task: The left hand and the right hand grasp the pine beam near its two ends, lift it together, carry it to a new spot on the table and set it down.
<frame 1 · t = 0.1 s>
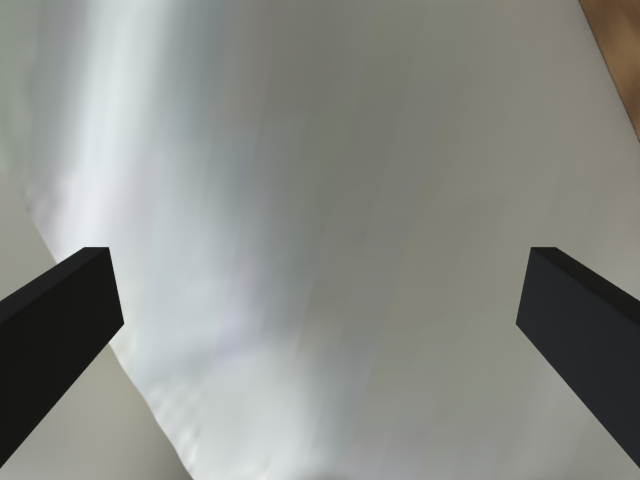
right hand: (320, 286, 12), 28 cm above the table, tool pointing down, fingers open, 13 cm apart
beam: (610, 5, 34), on the table
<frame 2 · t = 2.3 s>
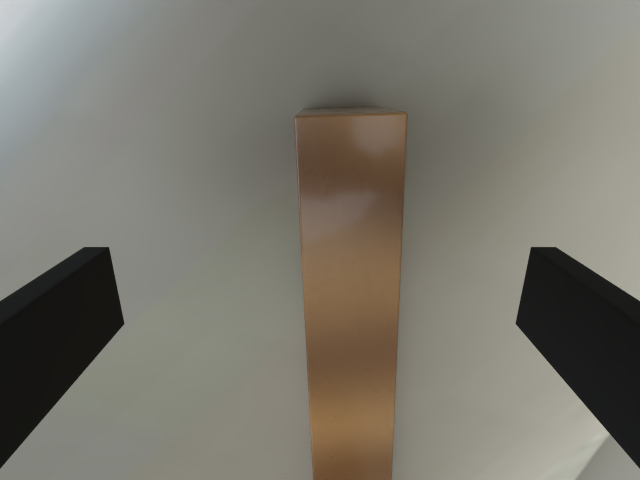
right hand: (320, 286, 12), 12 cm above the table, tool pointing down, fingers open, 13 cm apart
beam: (344, 462, 32), on the table
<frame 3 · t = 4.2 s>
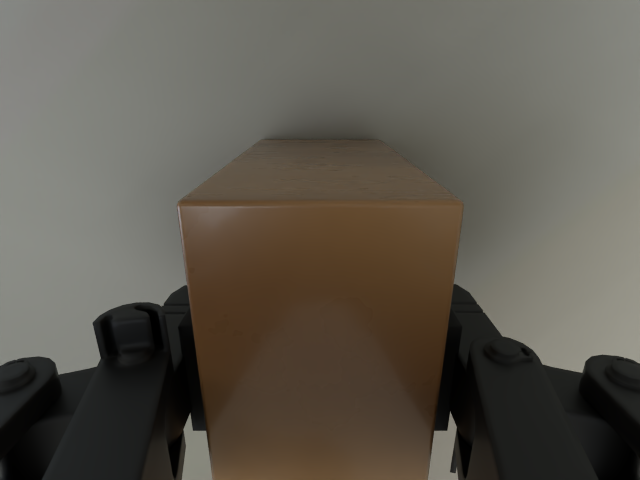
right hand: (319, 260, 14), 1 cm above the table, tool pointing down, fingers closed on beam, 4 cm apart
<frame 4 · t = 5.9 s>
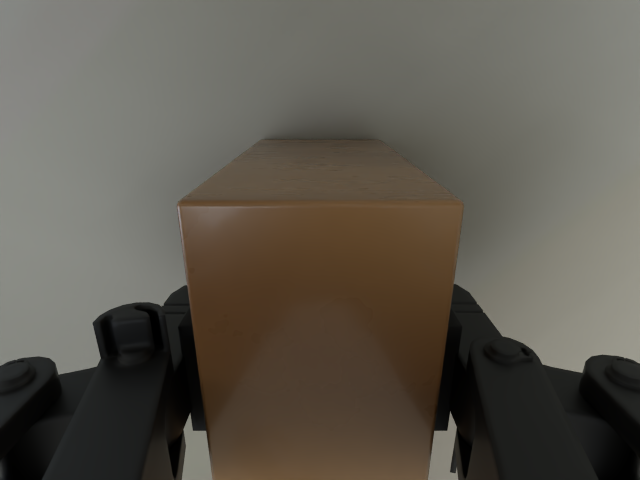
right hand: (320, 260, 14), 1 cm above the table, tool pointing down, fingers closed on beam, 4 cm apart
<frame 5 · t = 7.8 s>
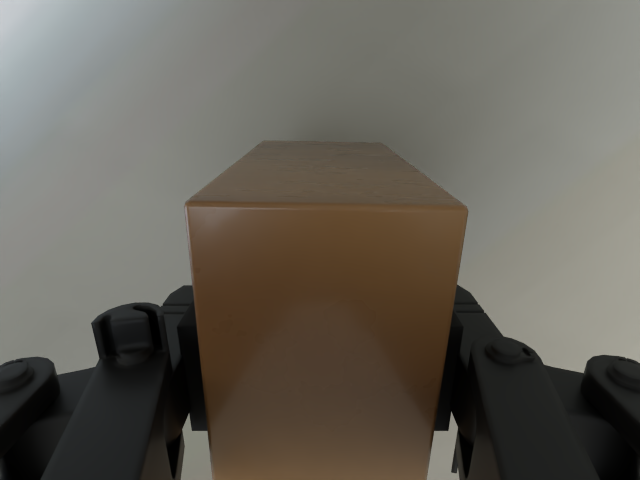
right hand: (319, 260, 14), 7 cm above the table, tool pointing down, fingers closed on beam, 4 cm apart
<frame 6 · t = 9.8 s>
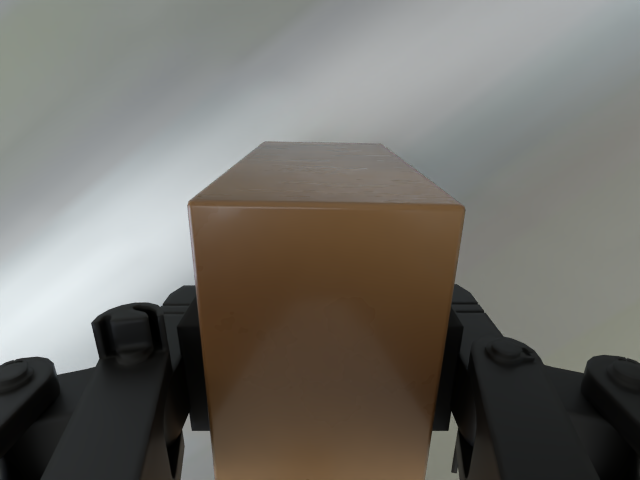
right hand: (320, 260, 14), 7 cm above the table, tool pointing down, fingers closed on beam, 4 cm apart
when the right hand's fingers open (3 cm above the table, at t = 11.5 s): beam drops 2 cm, on the table.
when the left hand's fingers open (5 cm above the table, at t = 11.6 s): beam stays where it is, on the table.
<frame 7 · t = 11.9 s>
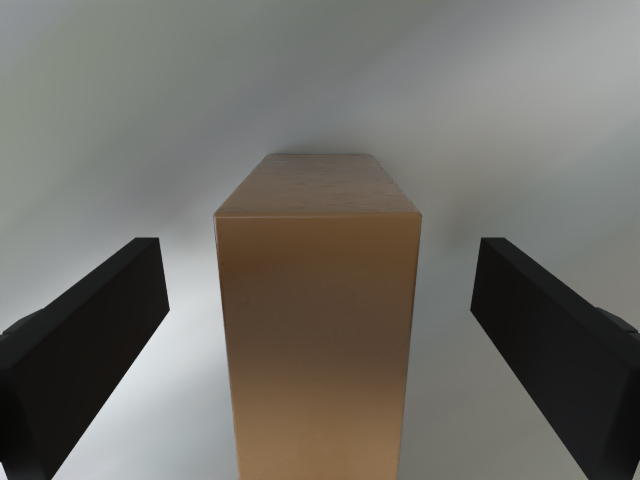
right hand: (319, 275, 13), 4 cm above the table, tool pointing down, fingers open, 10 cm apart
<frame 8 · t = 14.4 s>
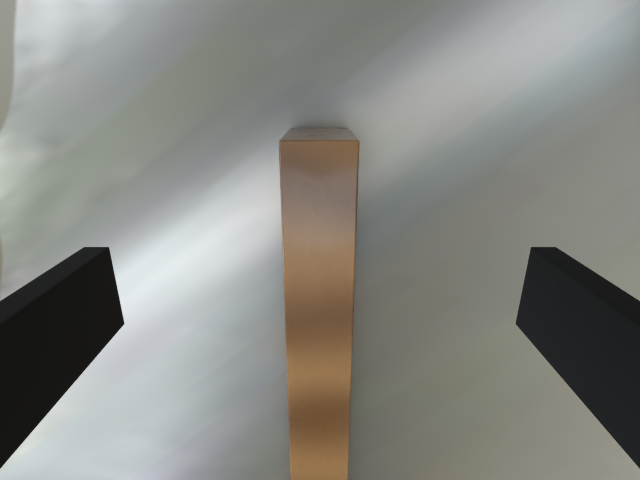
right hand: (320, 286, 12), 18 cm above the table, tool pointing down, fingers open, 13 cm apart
beam: (319, 422, 38), on the table
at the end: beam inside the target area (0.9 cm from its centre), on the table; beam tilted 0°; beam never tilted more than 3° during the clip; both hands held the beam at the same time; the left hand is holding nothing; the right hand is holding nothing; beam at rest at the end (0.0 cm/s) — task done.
